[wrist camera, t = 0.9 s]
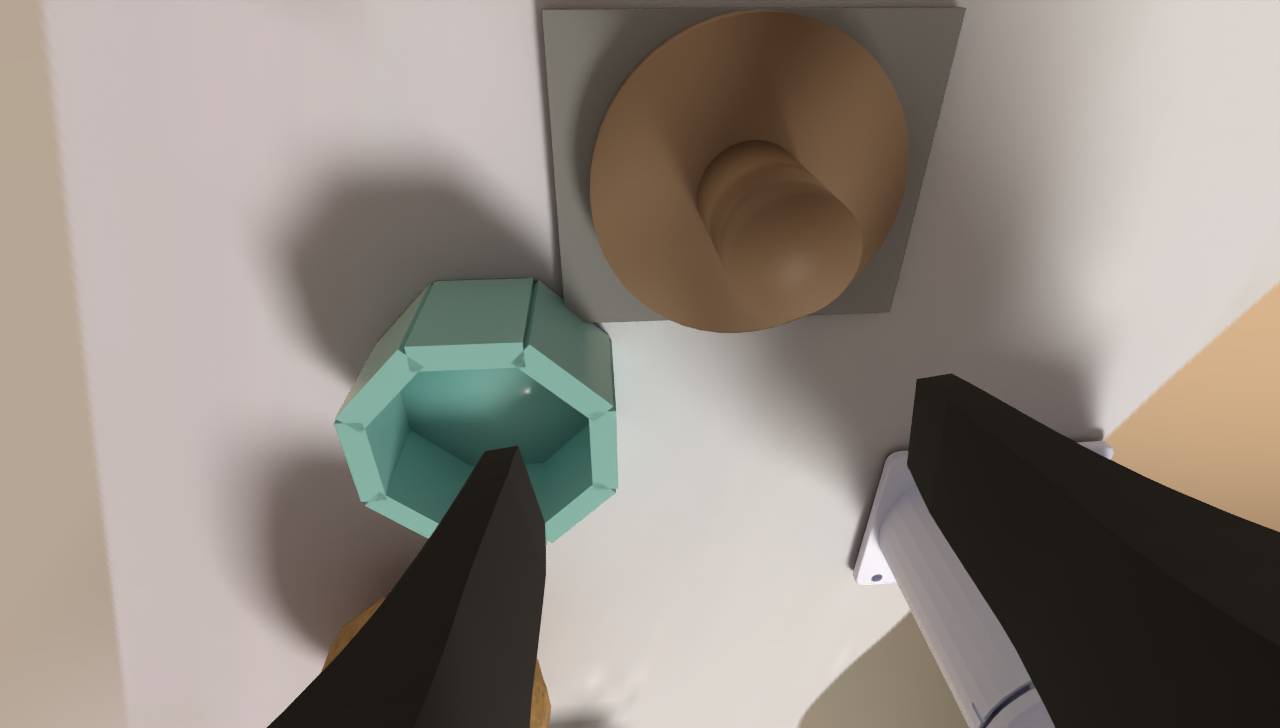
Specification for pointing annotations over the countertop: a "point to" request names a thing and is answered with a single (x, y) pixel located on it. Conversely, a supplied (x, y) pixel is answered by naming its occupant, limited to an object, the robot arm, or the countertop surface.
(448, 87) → the countertop surface
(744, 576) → the countertop surface
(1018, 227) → the countertop surface
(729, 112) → the lid
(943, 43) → the mat
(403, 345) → the bowl
